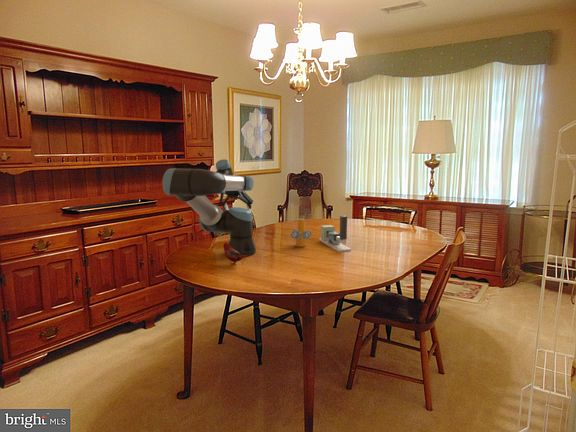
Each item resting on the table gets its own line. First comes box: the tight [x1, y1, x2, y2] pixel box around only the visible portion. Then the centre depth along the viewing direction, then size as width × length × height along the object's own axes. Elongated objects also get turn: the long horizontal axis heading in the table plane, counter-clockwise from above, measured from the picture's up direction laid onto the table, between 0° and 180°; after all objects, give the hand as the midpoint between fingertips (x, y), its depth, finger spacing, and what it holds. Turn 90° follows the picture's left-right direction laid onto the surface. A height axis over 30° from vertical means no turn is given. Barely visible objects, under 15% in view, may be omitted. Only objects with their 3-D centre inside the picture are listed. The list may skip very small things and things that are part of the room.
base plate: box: [318, 238, 352, 253], centre depth 236 cm, size 28×8×1 cm, turn 17°
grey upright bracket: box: [334, 215, 348, 245], centre depth 230 cm, size 17×3×15 cm, turn 17°
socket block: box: [320, 224, 336, 241], centre depth 245 cm, size 5×6×8 cm
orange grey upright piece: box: [290, 218, 312, 248], centre depth 234 cm, size 12×10×15 cm
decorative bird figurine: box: [222, 242, 250, 266], centre depth 196 cm, size 3×18×10 cm, turn 51°
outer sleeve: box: [328, 231, 341, 245], centre depth 236 cm, size 7×4×6 cm, turn 17°
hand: (239, 212), depth 247 cm, fingers open, 13 cm apart
